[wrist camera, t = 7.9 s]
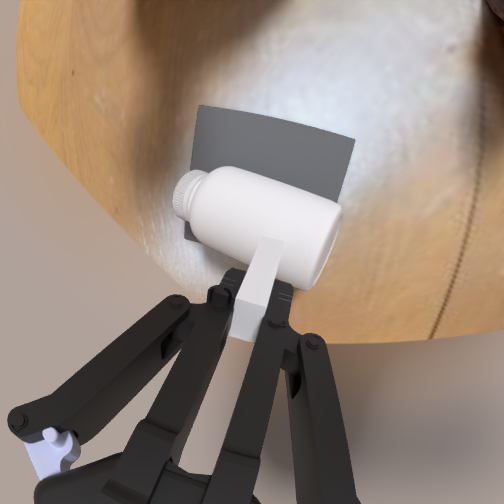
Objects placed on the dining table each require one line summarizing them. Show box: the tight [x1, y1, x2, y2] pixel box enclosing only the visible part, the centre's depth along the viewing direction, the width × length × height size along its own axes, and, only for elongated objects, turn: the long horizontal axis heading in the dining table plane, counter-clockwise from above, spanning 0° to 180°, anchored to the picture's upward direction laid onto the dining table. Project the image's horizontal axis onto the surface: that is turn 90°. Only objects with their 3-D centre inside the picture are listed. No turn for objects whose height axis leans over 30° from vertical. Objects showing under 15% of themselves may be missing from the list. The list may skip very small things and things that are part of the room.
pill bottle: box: [172, 166, 343, 291], centre depth 26 cm, size 8×8×15 cm
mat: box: [184, 105, 355, 243], centre depth 29 cm, size 16×16×1 cm
